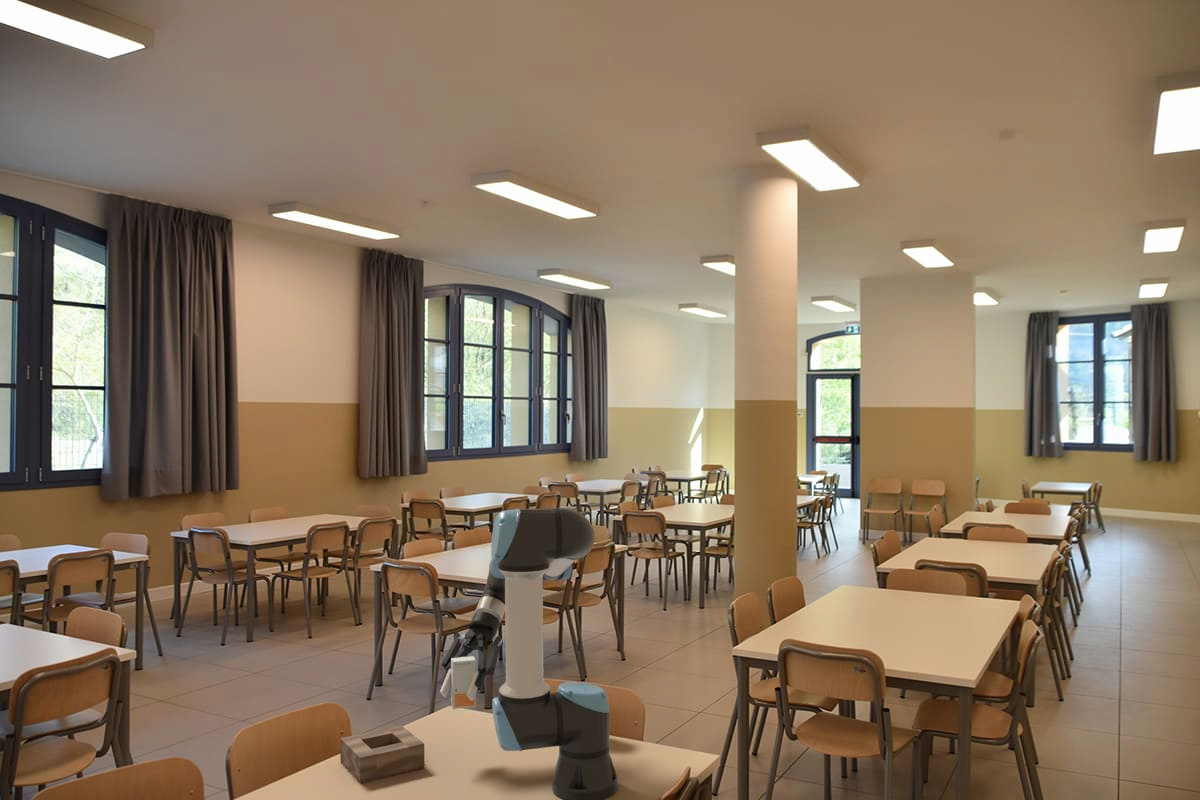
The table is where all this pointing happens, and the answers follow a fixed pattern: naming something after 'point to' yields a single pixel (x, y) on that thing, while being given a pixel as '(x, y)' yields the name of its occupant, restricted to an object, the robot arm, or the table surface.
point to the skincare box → (462, 681)
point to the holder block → (381, 753)
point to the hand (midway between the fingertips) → (456, 696)
